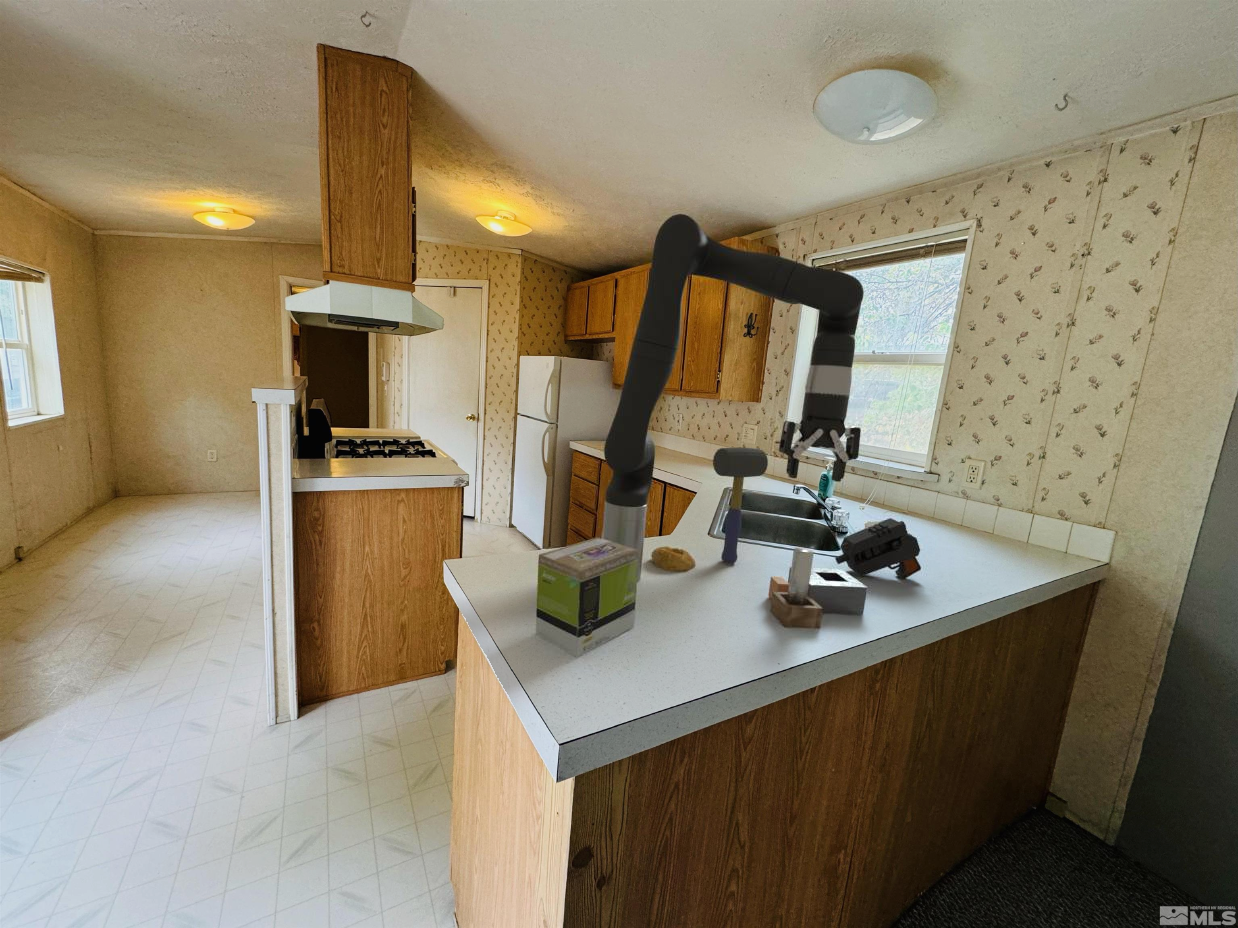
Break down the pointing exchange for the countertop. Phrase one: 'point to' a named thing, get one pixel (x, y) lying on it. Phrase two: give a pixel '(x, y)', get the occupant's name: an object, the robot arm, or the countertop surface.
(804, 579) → the tall gray stick
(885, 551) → the black toy pistol
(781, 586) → the drift key
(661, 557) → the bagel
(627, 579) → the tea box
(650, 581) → the countertop surface
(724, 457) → the rubber mallet
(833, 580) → the socket
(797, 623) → the open wooden box
